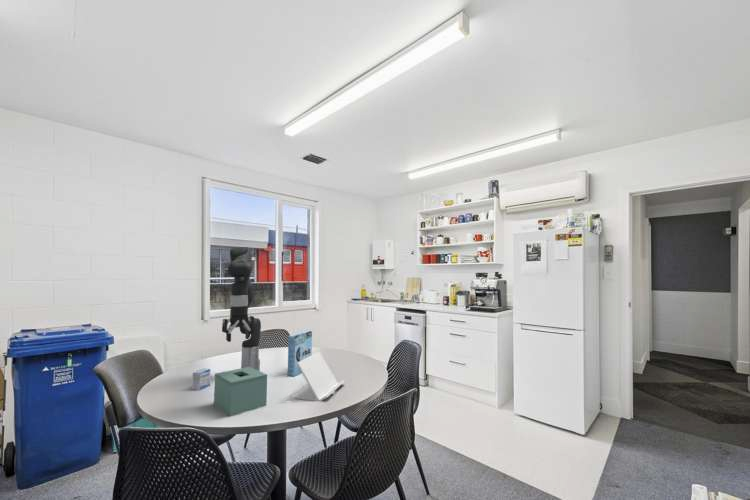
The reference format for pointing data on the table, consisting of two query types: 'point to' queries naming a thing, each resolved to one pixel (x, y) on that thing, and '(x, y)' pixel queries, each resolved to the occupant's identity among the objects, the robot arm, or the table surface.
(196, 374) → the medicine box
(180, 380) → the table surface
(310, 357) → the tablet stand
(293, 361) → the gum box
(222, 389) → the box
